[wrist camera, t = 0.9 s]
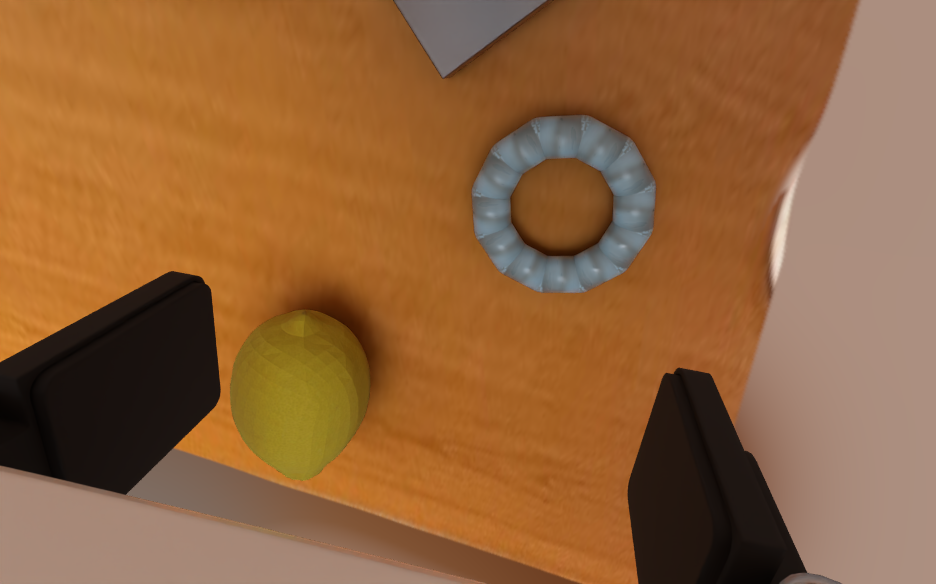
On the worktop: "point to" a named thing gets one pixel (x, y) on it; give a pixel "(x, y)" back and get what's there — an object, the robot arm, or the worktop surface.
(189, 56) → the worktop surface
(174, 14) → the worktop surface
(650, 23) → the worktop surface
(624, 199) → the ring
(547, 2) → the peg stand
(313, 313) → the lemon
